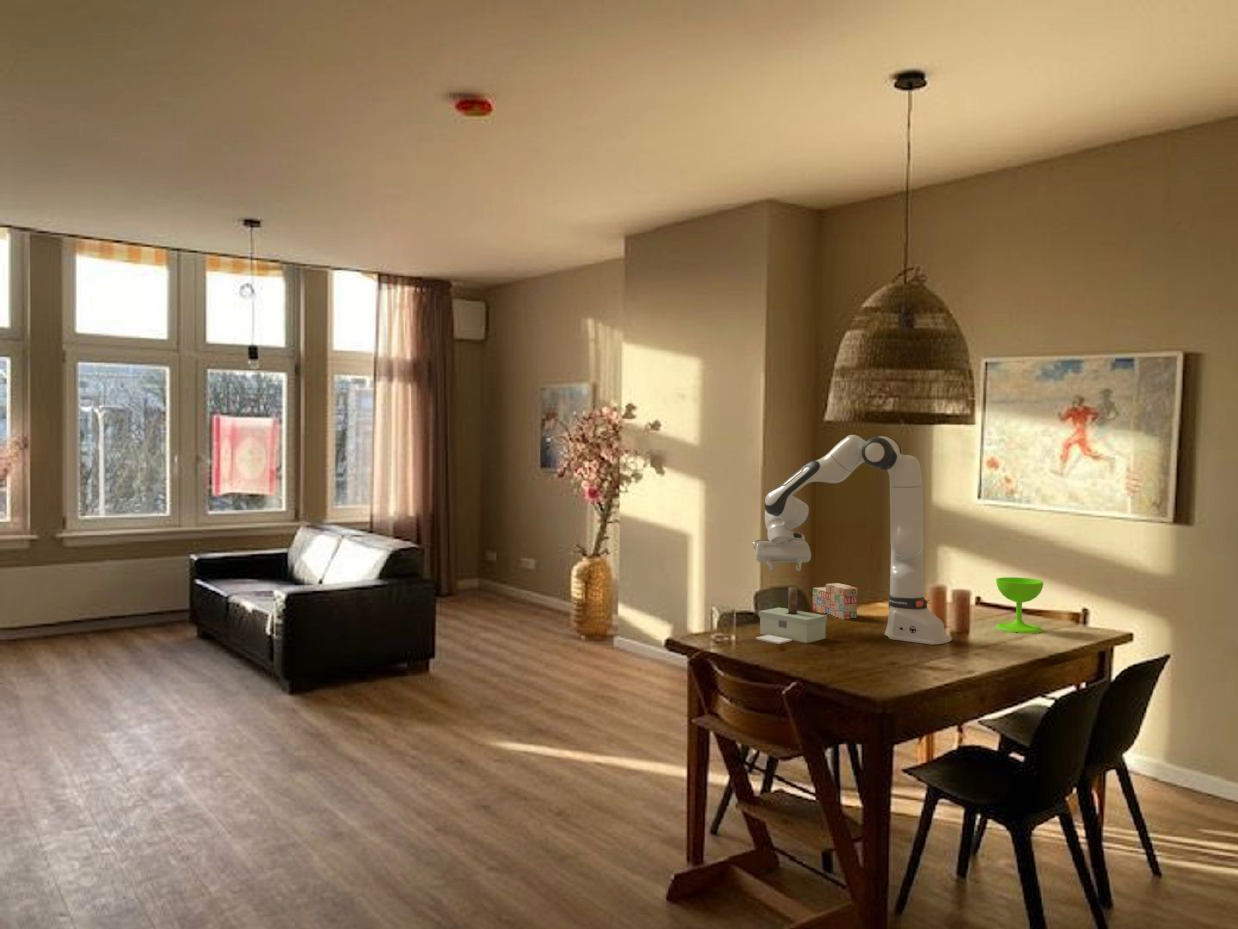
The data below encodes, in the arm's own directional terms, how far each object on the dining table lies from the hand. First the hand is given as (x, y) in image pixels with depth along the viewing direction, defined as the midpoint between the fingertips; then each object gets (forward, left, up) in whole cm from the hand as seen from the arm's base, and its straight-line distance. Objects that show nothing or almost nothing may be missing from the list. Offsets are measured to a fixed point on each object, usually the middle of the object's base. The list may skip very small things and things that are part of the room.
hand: (785, 569), depth 331 cm
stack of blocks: (+5, -39, -22) cm, 45 cm away
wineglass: (-56, -67, -22) cm, 90 cm away
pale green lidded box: (-9, +7, -22) cm, 25 cm away
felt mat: (-9, +18, -22) cm, 30 cm away
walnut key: (-9, +7, -16) cm, 20 cm away
